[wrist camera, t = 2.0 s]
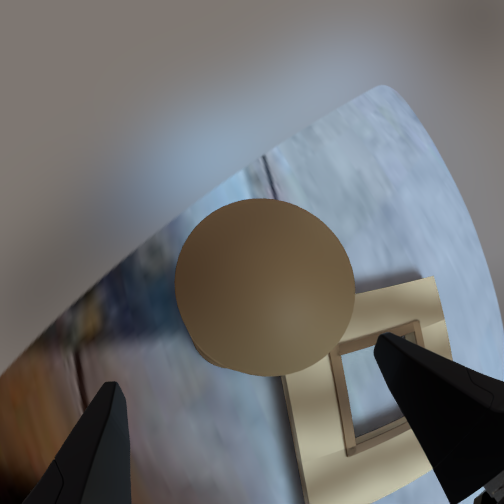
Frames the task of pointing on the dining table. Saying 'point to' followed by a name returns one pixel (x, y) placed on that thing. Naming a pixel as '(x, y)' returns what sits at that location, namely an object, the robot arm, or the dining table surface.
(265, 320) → the peg
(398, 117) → the dining table surface
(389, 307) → the socket board
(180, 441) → the dining table surface
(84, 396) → the dining table surface
